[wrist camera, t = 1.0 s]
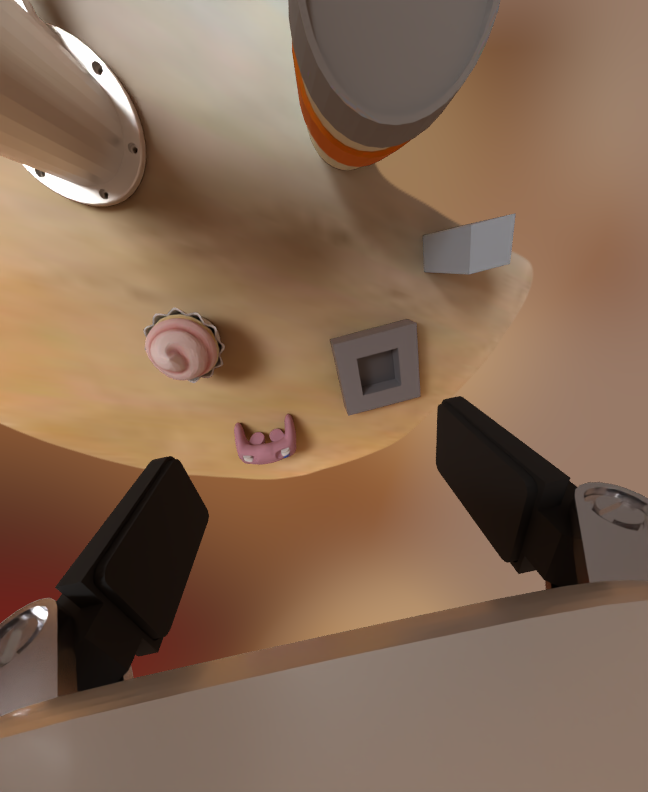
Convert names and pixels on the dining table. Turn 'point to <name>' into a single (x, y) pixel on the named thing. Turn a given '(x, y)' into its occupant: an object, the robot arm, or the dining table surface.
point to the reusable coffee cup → (381, 69)
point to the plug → (470, 247)
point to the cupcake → (183, 345)
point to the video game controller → (266, 444)
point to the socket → (378, 366)
